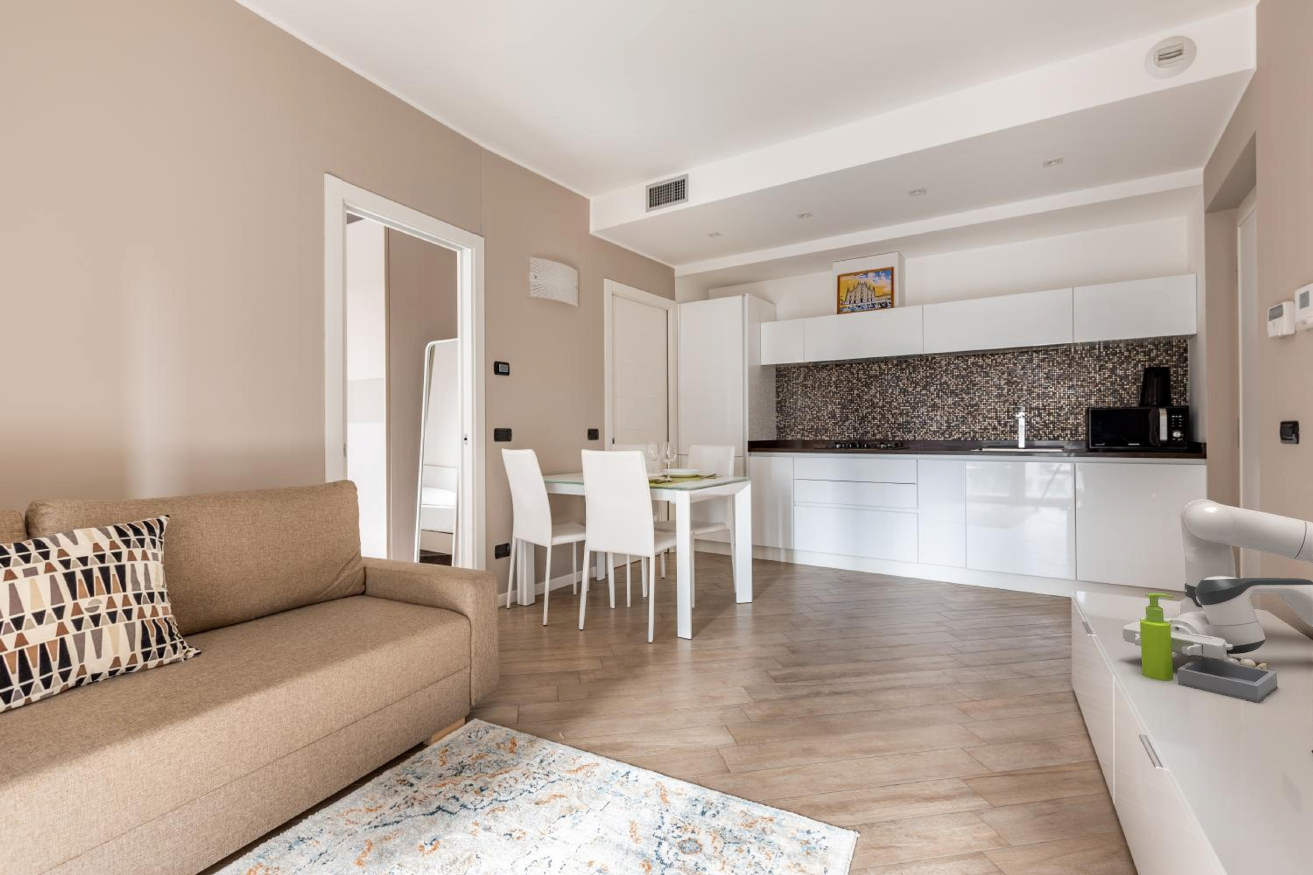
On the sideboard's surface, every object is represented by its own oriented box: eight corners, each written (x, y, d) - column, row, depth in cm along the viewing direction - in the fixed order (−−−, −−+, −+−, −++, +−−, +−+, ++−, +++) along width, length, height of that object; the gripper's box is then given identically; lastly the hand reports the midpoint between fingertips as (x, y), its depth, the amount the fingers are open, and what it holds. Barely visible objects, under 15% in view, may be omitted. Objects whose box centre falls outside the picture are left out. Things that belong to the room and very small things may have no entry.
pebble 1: (1219, 662, 159) (1219, 650, 160) (1235, 665, 157) (1234, 653, 157) (1215, 665, 158) (1215, 653, 158) (1231, 668, 155) (1230, 656, 155)
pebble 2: (1226, 667, 156) (1225, 655, 156) (1242, 670, 154) (1241, 658, 154) (1222, 669, 155) (1221, 657, 155) (1238, 673, 152) (1237, 660, 152)
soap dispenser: (1183, 680, 150) (1179, 596, 150) (1150, 679, 151) (1146, 596, 152) (1169, 672, 156) (1164, 591, 156) (1137, 671, 157) (1133, 590, 158)
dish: (1199, 671, 156) (1199, 656, 156) (1277, 687, 144) (1276, 671, 144) (1178, 684, 148) (1177, 668, 148) (1258, 702, 136) (1257, 686, 137)
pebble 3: (1241, 667, 156) (1241, 655, 156) (1258, 671, 153) (1257, 658, 153) (1237, 670, 154) (1237, 658, 154) (1254, 673, 151) (1253, 661, 151)
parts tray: (1214, 662, 161) (1213, 653, 161) (1267, 673, 153) (1266, 663, 153) (1202, 669, 157) (1202, 659, 157) (1256, 680, 149) (1256, 670, 149)
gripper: (1236, 658, 152) (1217, 671, 144) (1136, 639, 169) (1114, 650, 161) (1235, 632, 152) (1215, 643, 144) (1134, 615, 169) (1112, 625, 162)
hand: (1161, 646), depth 153 cm, fingers open, 8 cm apart
